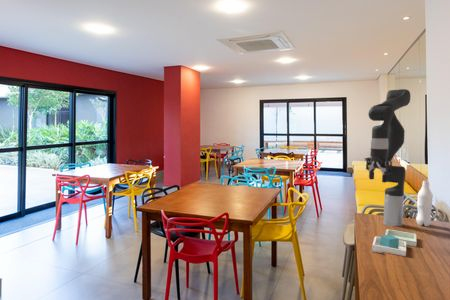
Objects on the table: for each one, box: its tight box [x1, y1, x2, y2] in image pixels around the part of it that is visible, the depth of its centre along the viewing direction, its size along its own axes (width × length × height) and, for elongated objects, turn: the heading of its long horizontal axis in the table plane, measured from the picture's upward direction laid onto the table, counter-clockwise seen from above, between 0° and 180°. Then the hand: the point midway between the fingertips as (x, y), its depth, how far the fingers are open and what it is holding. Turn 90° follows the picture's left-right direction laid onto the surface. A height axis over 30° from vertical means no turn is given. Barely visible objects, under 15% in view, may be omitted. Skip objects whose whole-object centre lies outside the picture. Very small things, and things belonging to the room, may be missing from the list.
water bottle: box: [415, 180, 434, 227], centre depth 169 cm, size 7×7×25 cm
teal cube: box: [380, 234, 399, 249], centre depth 134 cm, size 5×5×5 cm
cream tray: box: [371, 236, 407, 257], centre depth 134 cm, size 13×13×3 cm
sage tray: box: [384, 228, 417, 247], centre depth 144 cm, size 13×13×3 cm
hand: (377, 180), depth 147 cm, fingers open, 8 cm apart
